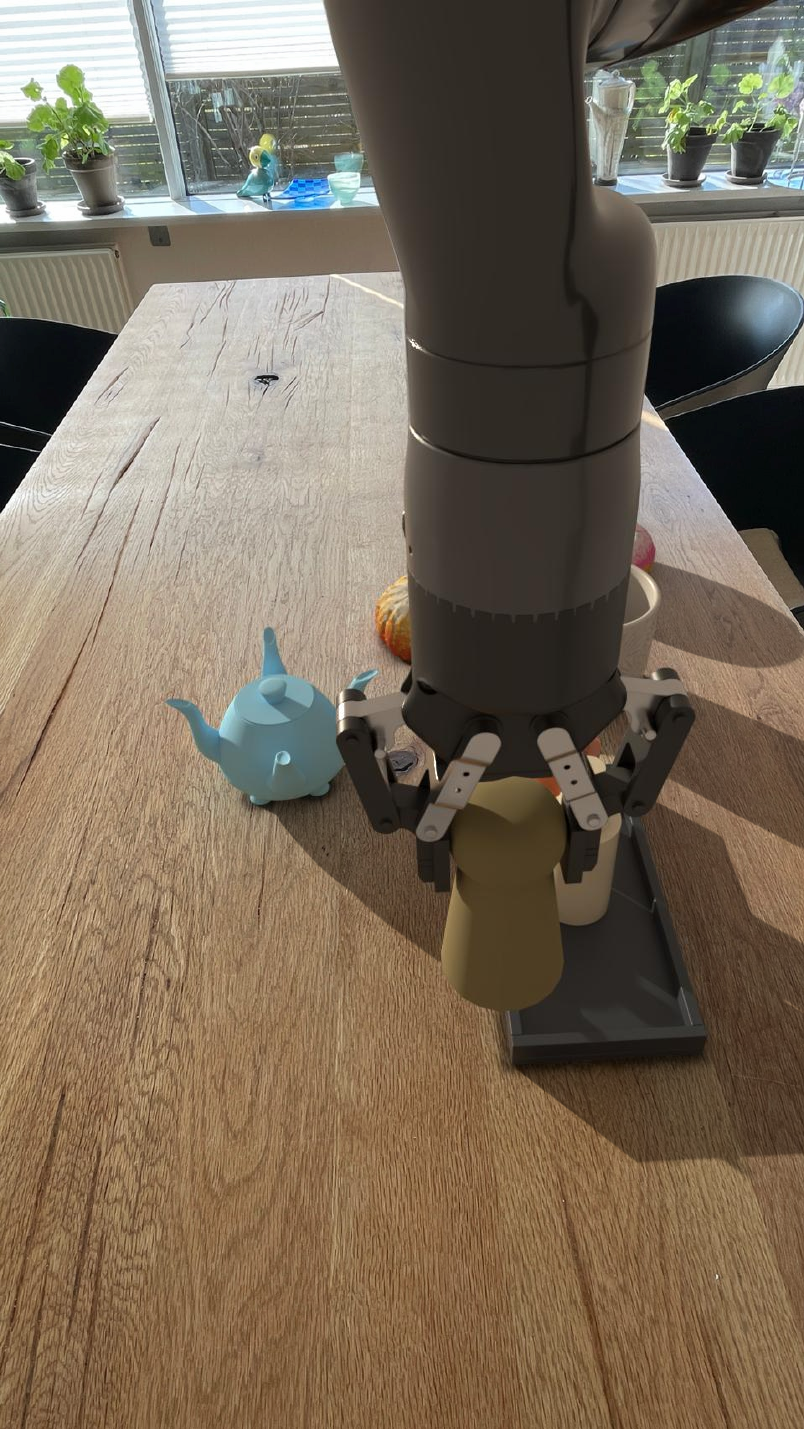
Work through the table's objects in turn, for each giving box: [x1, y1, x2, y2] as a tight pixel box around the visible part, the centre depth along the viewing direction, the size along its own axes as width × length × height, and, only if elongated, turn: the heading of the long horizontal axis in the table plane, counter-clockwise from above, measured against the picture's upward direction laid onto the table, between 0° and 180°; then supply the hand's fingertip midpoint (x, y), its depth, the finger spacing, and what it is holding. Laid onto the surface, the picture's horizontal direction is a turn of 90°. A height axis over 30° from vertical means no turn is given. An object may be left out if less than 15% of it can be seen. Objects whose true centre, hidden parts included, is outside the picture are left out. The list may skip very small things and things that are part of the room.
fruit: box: [374, 574, 412, 663], centre depth 98 cm, size 11×10×8 cm
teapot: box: [165, 626, 378, 806], centre depth 81 cm, size 13×13×10 cm
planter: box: [618, 564, 662, 679], centre depth 89 cm, size 12×12×11 cm
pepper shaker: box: [440, 776, 568, 1012], centre depth 43 cm, size 6×6×11 cm
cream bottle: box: [553, 756, 622, 926], centre depth 67 cm, size 5×5×14 cm
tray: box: [504, 763, 708, 1066], centre depth 72 cm, size 26×13×2 cm, turn 2°
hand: (505, 872), depth 43 cm, fingers closed on pepper shaker, 5 cm apart
